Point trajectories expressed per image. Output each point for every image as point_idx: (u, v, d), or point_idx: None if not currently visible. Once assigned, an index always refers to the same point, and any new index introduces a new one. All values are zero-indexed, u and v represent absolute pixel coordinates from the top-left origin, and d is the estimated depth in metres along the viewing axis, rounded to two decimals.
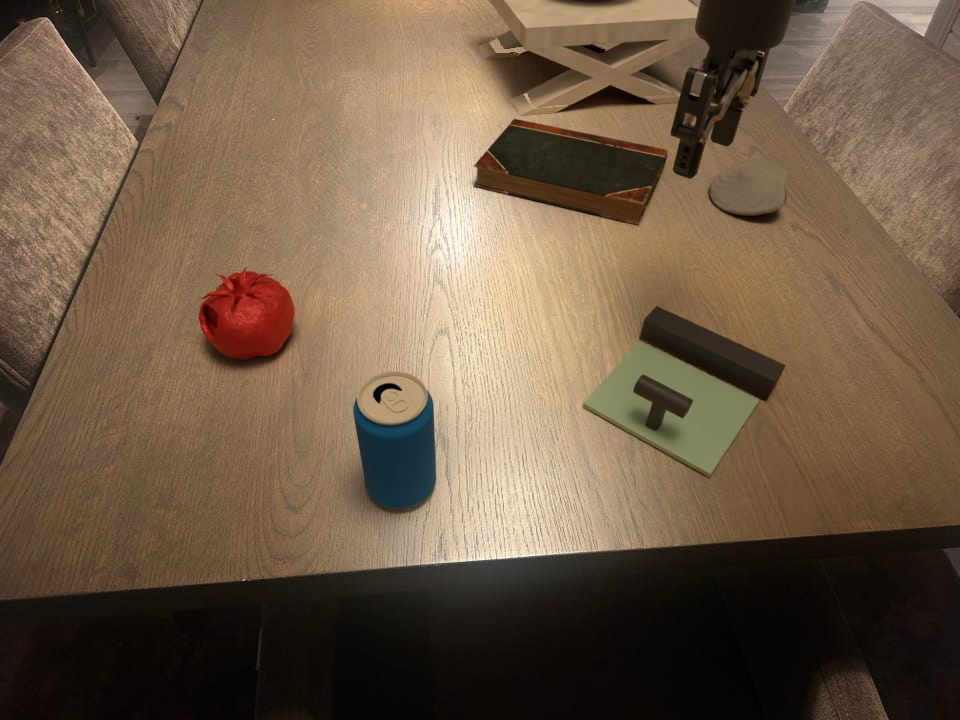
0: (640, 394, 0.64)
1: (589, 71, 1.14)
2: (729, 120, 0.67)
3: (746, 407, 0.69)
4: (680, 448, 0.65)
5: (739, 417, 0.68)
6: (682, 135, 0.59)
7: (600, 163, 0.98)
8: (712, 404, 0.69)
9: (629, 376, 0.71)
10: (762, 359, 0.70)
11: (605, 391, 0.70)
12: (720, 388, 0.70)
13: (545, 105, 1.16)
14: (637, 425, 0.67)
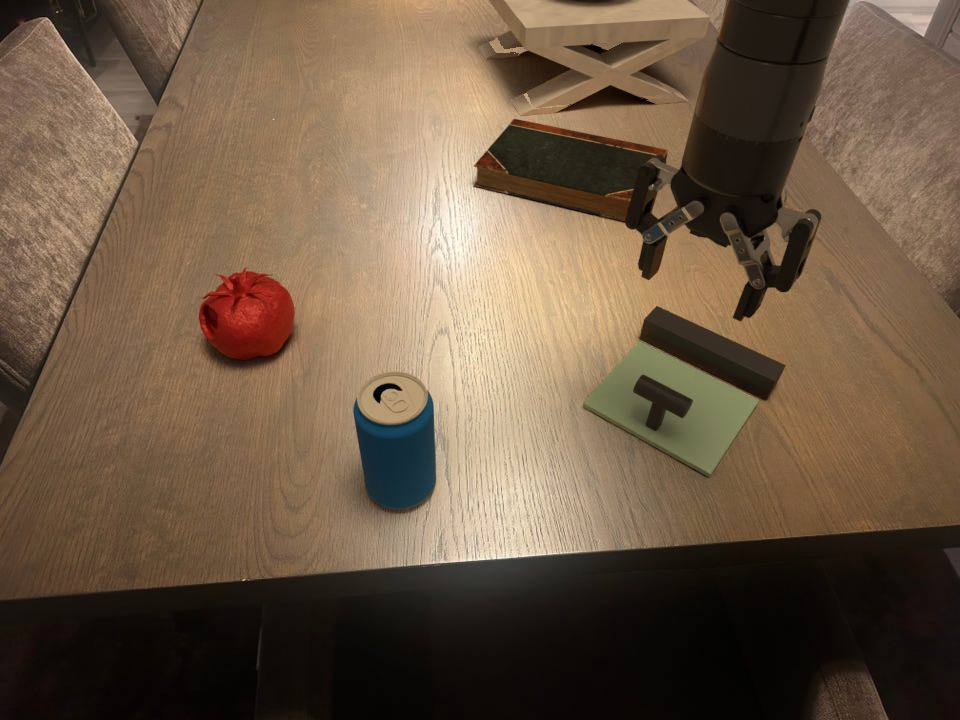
0: (640, 394, 0.64)
1: (589, 71, 1.14)
2: None
3: (746, 407, 0.69)
4: (680, 448, 0.65)
5: (739, 417, 0.68)
6: None
7: (600, 163, 0.98)
8: (712, 404, 0.69)
9: (629, 376, 0.71)
10: (762, 359, 0.70)
11: (605, 391, 0.70)
12: (720, 388, 0.70)
13: (545, 105, 1.16)
14: (637, 425, 0.67)
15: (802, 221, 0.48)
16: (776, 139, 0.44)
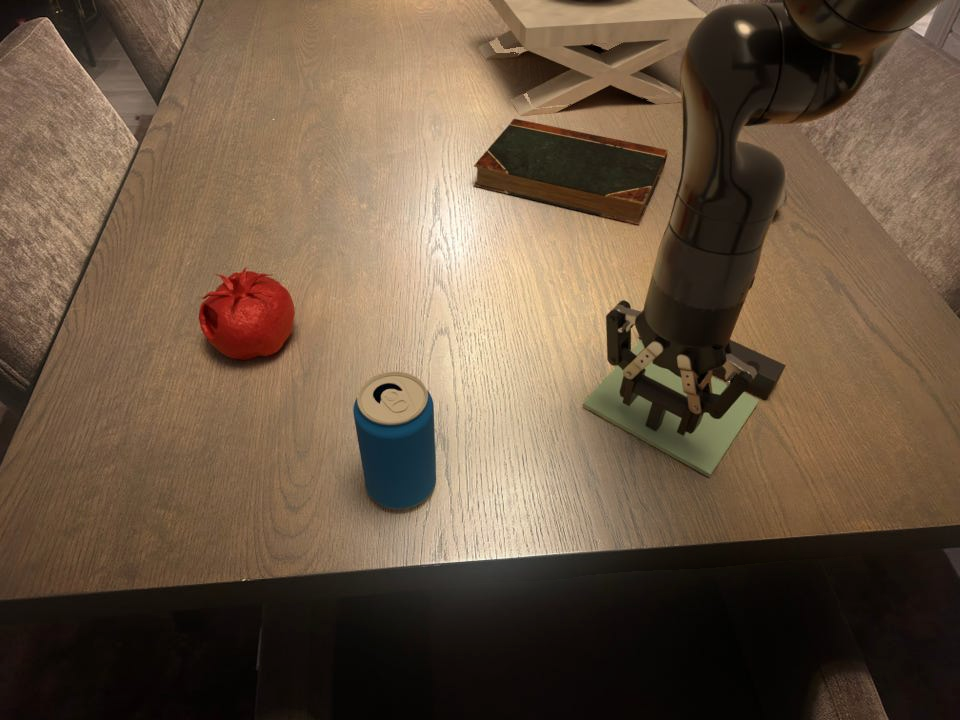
0: (640, 394, 0.64)
1: (589, 71, 1.14)
2: None
3: (746, 407, 0.69)
4: (680, 448, 0.65)
5: (739, 417, 0.68)
6: None
7: (600, 163, 0.98)
8: None
9: None
10: (762, 359, 0.70)
11: (605, 391, 0.70)
12: (720, 388, 0.70)
13: (545, 105, 1.16)
14: (637, 425, 0.67)
15: (744, 375, 0.55)
16: (720, 307, 0.51)
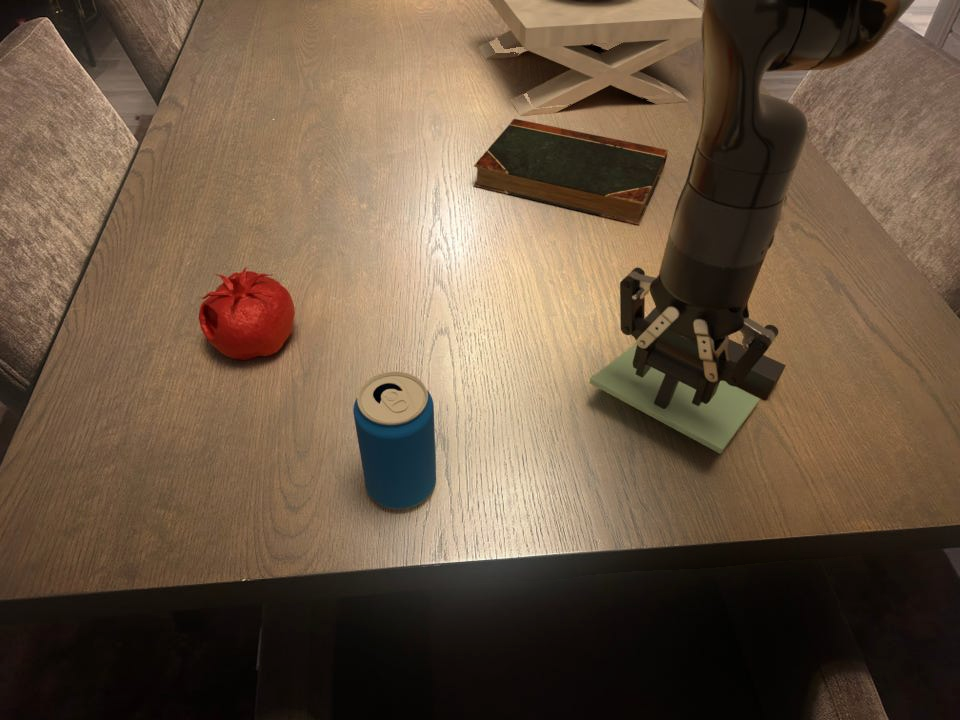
0: (654, 364, 0.63)
1: (589, 71, 1.14)
2: None
3: (748, 402, 0.68)
4: (690, 425, 0.63)
5: (743, 409, 0.67)
6: None
7: (600, 163, 0.98)
8: (716, 396, 0.68)
9: None
10: (762, 359, 0.70)
11: (611, 372, 0.68)
12: (722, 385, 0.70)
13: (545, 105, 1.16)
14: (645, 402, 0.65)
15: (763, 338, 0.54)
16: (740, 265, 0.50)
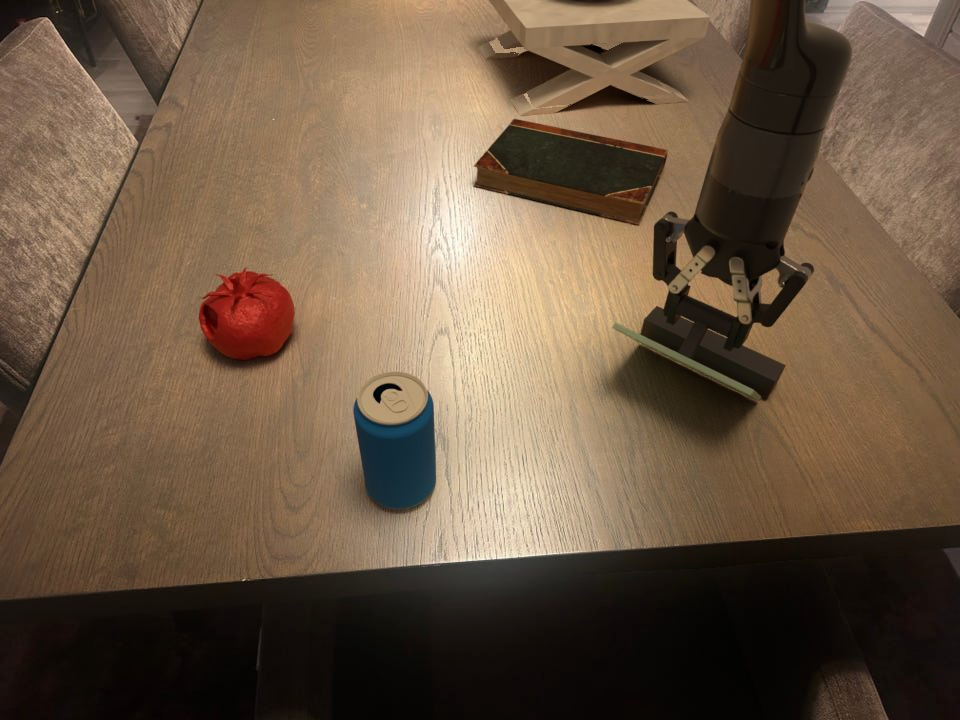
0: (686, 308, 0.63)
1: (589, 71, 1.14)
2: None
3: None
4: None
5: None
6: None
7: (600, 163, 0.98)
8: None
9: None
10: (762, 359, 0.70)
11: None
12: None
13: (545, 105, 1.16)
14: None
15: (800, 274, 0.55)
16: (780, 196, 0.51)
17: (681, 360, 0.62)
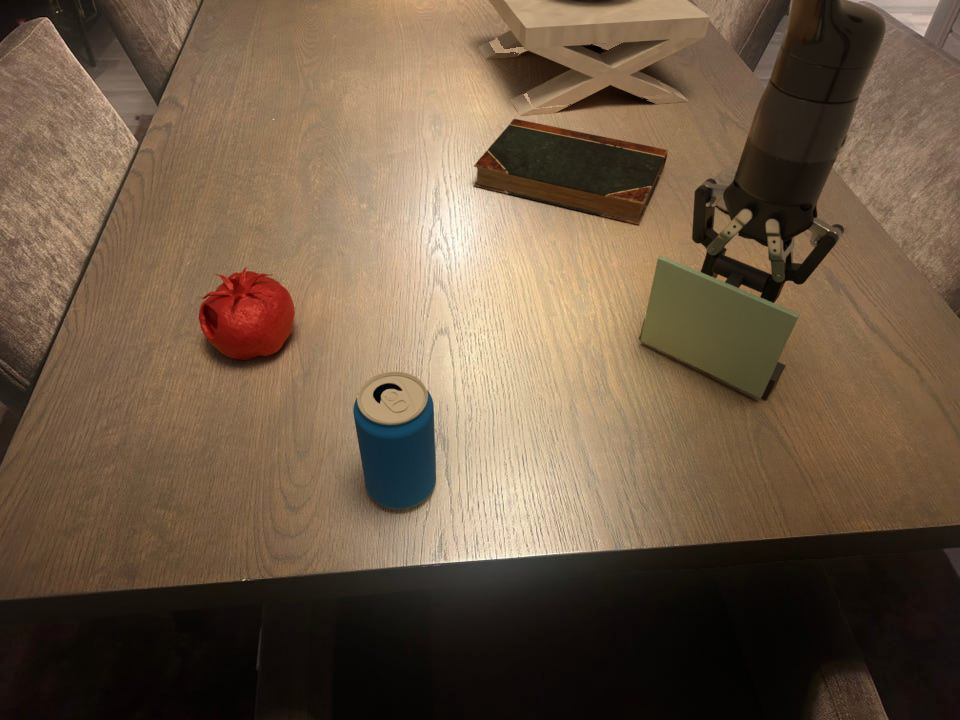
0: (725, 259, 0.67)
1: (589, 71, 1.14)
2: None
3: None
4: None
5: None
6: None
7: (600, 163, 0.98)
8: None
9: None
10: None
11: None
12: None
13: (545, 105, 1.16)
14: None
15: (831, 234, 0.60)
16: (816, 160, 0.56)
17: (727, 286, 0.63)
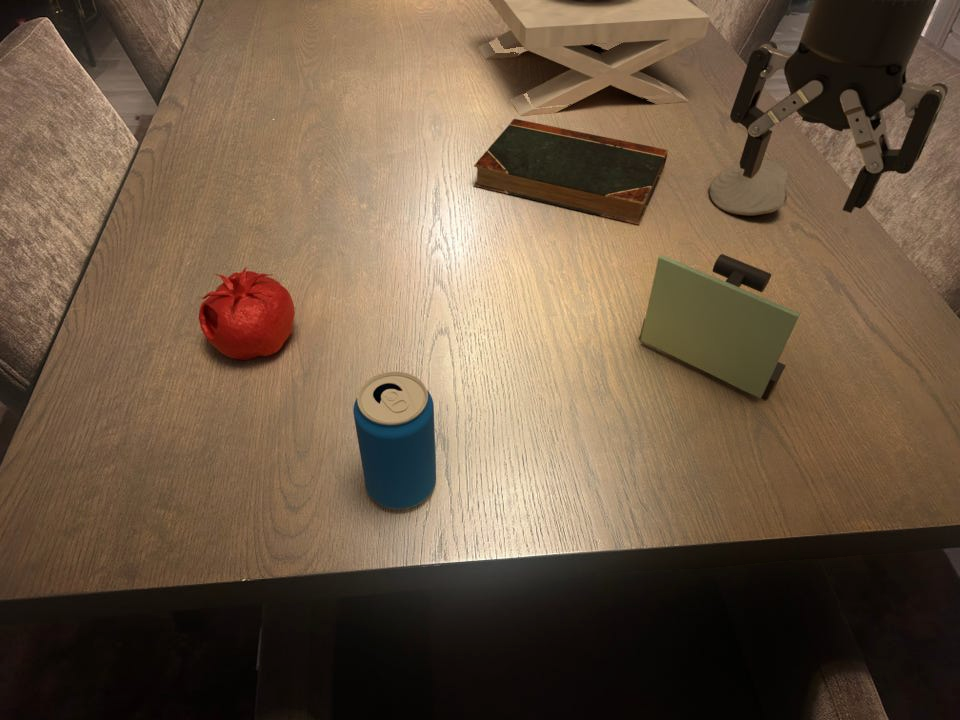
0: (726, 259, 0.67)
1: (589, 71, 1.14)
2: None
3: None
4: None
5: None
6: None
7: (600, 163, 0.98)
8: None
9: None
10: None
11: None
12: None
13: (545, 105, 1.16)
14: None
15: (931, 92, 0.47)
16: None
17: (728, 286, 0.63)
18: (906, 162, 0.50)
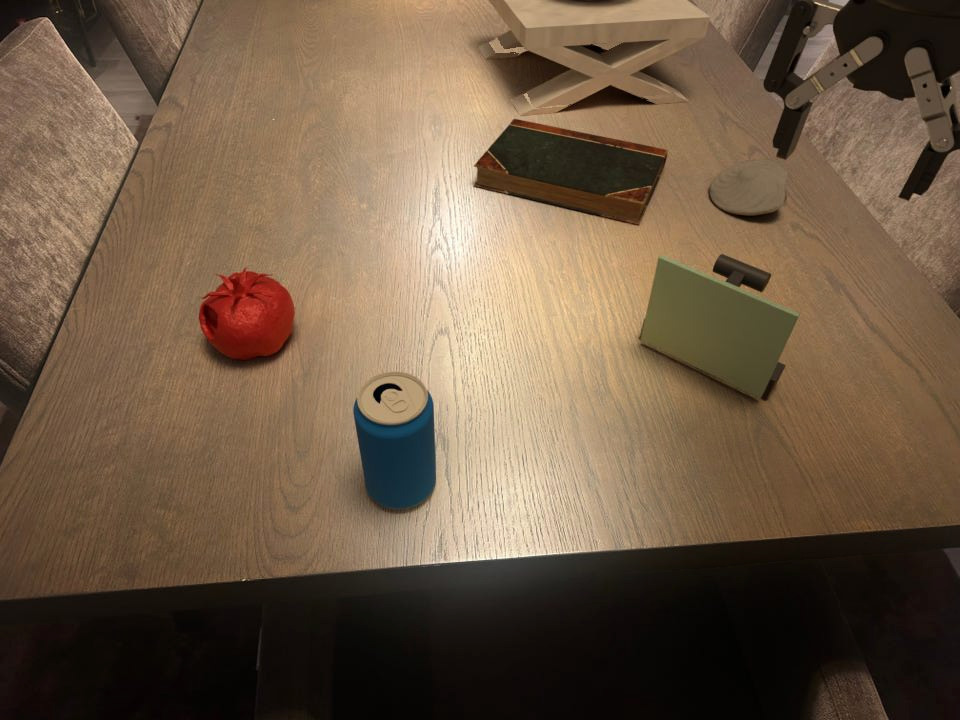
0: (726, 259, 0.67)
1: (589, 71, 1.14)
2: None
3: None
4: None
5: None
6: None
7: (600, 163, 0.98)
8: None
9: None
10: None
11: None
12: None
13: (545, 105, 1.16)
14: None
15: None
16: None
17: (728, 286, 0.63)
18: None
